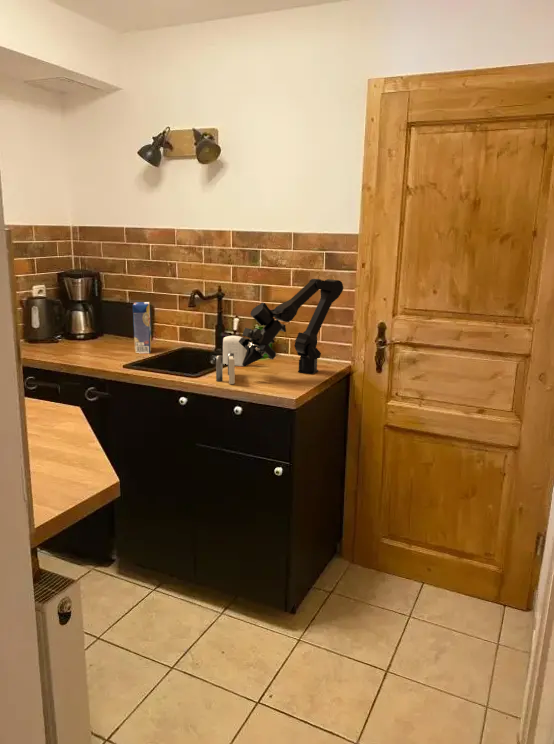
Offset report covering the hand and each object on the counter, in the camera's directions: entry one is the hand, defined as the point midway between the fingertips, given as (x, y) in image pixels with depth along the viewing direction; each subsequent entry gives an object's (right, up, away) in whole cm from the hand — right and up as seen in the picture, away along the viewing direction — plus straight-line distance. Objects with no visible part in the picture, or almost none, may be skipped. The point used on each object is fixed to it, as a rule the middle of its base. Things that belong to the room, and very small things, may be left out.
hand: (243, 365), depth 211 cm
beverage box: (-50, +7, +53) cm, 73 cm away
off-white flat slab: (-5, -5, +3) cm, 8 cm away
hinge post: (-6, -3, +11) cm, 13 cm away
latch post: (-9, -6, +2) cm, 11 cm away
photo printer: (-5, 0, +28) cm, 29 cm away
